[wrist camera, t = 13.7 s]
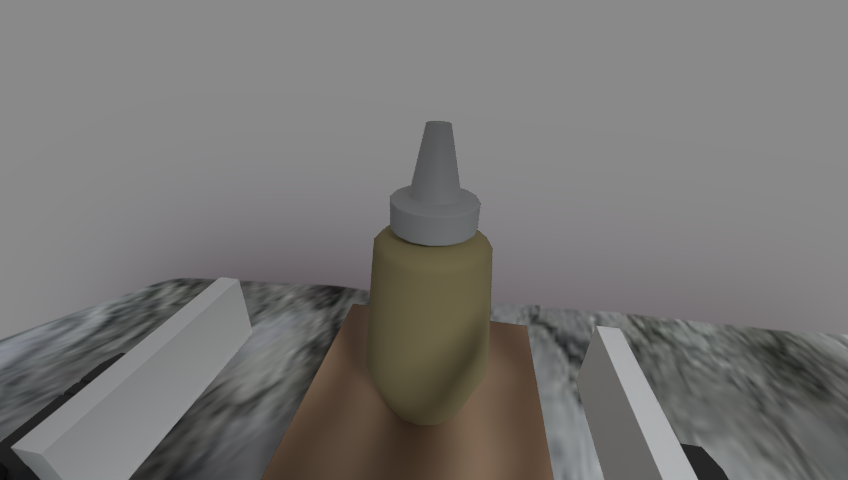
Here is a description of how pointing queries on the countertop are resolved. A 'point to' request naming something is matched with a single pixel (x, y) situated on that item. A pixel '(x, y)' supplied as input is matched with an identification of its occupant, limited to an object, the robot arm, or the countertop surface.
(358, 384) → the walnut plinth
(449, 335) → the squeeze bottle
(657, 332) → the countertop surface
